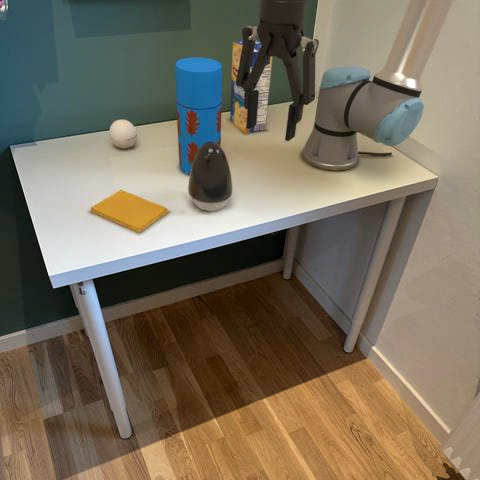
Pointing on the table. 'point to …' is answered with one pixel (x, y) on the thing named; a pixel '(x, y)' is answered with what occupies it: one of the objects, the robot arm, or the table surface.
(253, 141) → the table surface
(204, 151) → the black glossy oval body
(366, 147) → the table surface
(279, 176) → the table surface
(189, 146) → the thermos
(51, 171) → the table surface
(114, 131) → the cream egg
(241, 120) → the cracker box
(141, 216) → the mustard mat
